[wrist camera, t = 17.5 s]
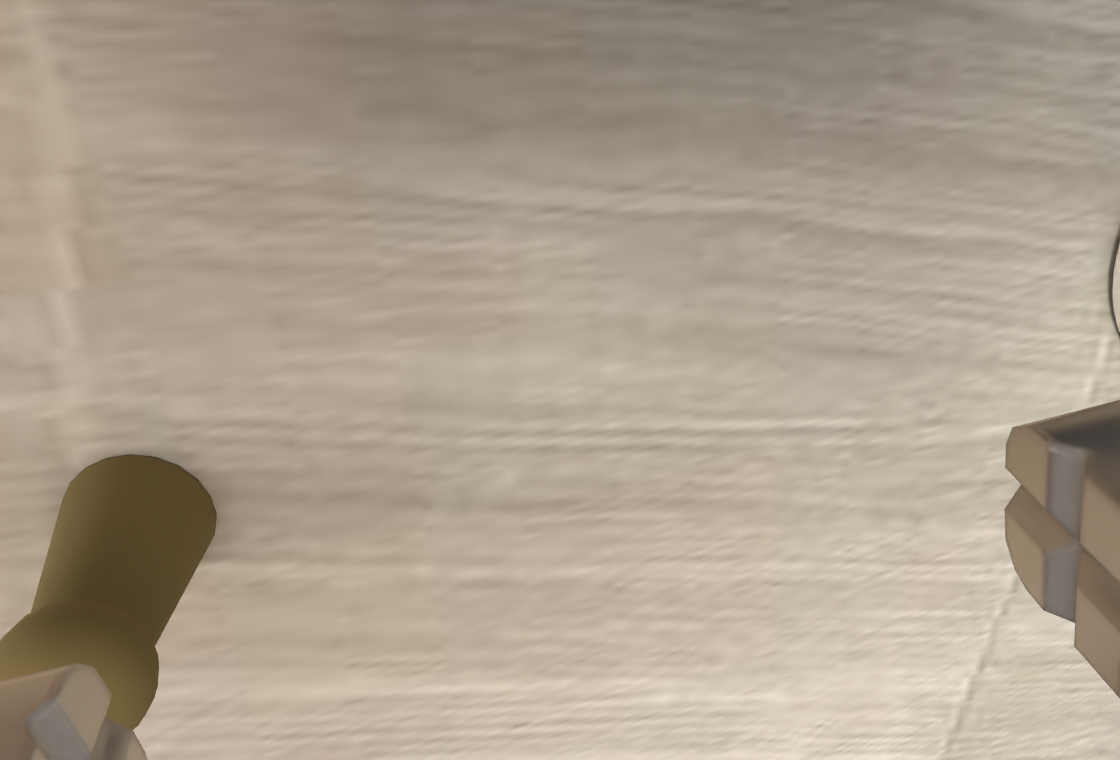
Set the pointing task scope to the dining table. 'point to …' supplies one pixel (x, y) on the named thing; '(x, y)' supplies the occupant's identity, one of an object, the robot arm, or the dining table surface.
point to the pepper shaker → (114, 578)
